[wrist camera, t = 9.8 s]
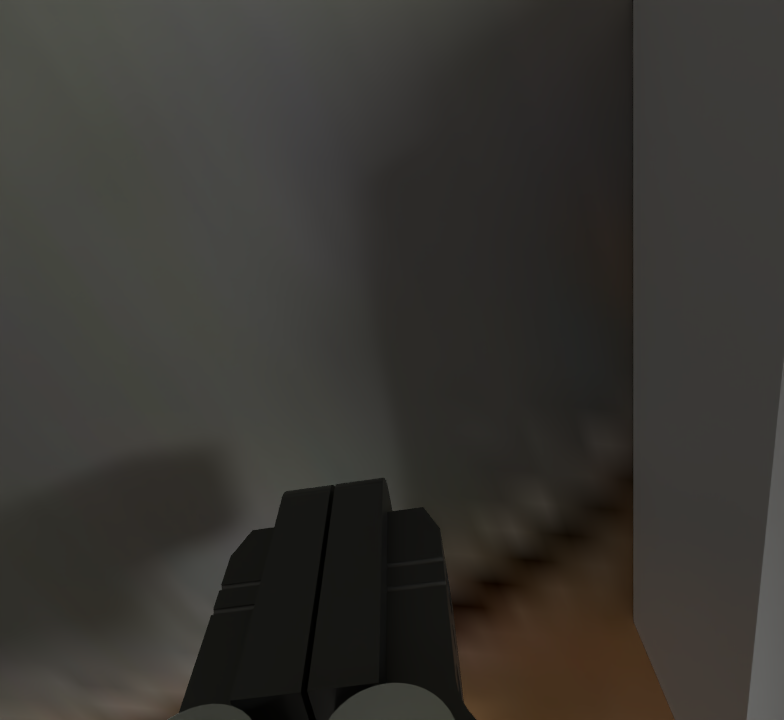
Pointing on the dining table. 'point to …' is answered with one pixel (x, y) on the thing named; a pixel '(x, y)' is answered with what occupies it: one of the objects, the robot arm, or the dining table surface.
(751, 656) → the grey flat bracket
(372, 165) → the dining table surface
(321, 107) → the dining table surface
